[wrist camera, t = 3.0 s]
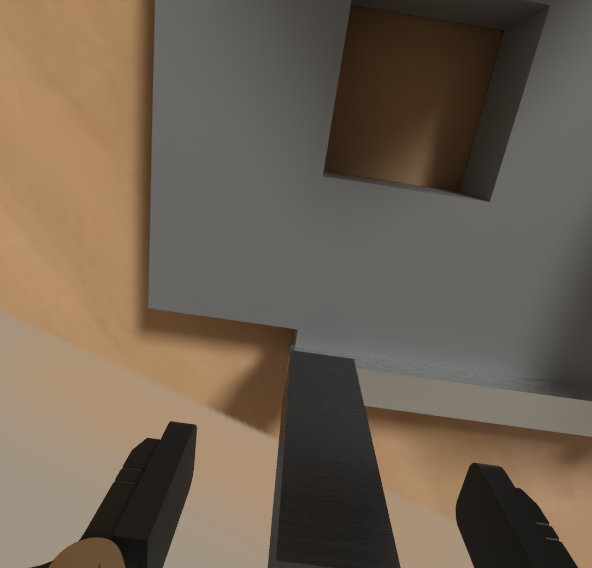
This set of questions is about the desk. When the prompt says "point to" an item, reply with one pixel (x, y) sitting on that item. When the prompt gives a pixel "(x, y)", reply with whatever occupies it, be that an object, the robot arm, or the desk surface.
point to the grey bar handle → (360, 452)
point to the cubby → (374, 191)
